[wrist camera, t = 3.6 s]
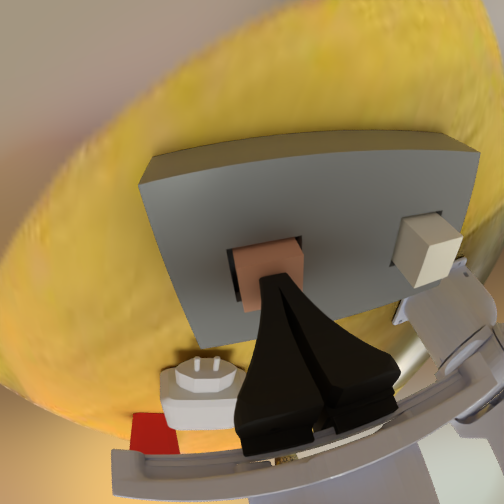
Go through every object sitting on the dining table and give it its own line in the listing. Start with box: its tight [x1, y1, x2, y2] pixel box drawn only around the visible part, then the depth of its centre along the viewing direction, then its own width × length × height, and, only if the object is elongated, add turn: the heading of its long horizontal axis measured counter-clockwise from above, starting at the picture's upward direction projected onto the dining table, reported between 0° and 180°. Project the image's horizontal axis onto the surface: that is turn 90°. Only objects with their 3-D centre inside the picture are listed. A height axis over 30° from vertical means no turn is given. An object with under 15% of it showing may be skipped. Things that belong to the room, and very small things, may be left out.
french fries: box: [129, 413, 180, 455], centre depth 30 cm, size 8×4×12 cm, turn 81°
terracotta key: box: [232, 237, 304, 313], centre depth 15 cm, size 3×3×3 cm
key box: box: [138, 130, 480, 349], centre depth 16 cm, size 20×12×4 cm, turn 96°
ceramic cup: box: [275, 453, 298, 465], centre depth 65 cm, size 13×10×10 cm
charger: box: [160, 356, 246, 430], centre depth 26 cm, size 5×9×15 cm
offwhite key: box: [391, 212, 463, 288], centre depth 14 cm, size 3×3×3 cm
